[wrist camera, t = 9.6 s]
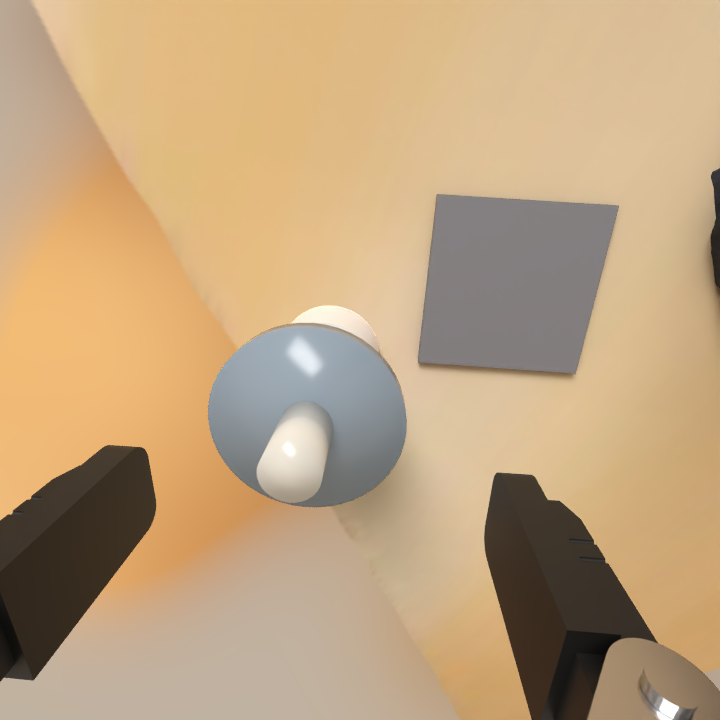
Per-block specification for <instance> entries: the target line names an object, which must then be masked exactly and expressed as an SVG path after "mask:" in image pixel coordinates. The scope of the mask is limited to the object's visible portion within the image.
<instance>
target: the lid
mask: <svg viewBox="0 0 720 720" xmlns="http://www.w3.org/2000/svg"><path fill="white" fill-rule="evenodd" d="M208 420H209V426H210V431H211V435H212V438H213V441H214V443H215V446H216V448H217V450H218V452H219V454H220V455H221V457H222V459H223V460H224V462H225V463H226V464H227V466H228V467H229V468H230V470H231V471H232V472H233V473H234V474H235V475H236V476H237V477H238V478H239V479H240V480H241V481H243V482H244V483H245V484H247V485H248V486H249V487H251V488H252V489H254V490H255V491H257V492H259V493H260V494H263V495H265V496H267V497H269V498H271V499H274V500H277V501H279V502H282V503H286V504H291V505H295V506H303V507H325V506H332V505H337V504H342V503H345V502H348V501H351V500H354V499H356V498H358V497H360V496H362V495H364V494H366V493H367V492H369V491H370V490H372V489H373V488H375V487H376V486H377V485H378V484H379V483H381V482H382V481H383V480H384V479H385V477H386V476H387V475H388V474H389V473H390V472H391V470H392V469H393V467H394V466H395V464H396V462H397V460H398V459H399V457H400V455H401V452H402V449H403V446H404V442H405V436H406V423H407V420H406V412H405V404H404V398H403V394H402V390H401V387H400V384H399V382H398V379H397V377H396V375H395V373H394V372H393V370H392V368H391V367H390V365H389V364H388V363H387V361H386V360H385V359H384V358H383V356H382V355H381V354H380V353H379V352H377V351H376V350H375V349H374V348H373V347H372V346H371V345H369V344H368V343H367V342H365V341H364V340H363V339H361V338H359V337H357V336H356V335H354V334H352V333H350V332H347V331H345V330H342V329H340V328H337V327H333V326H329V325H325V324H318V323H293V324H286V325H282V326H278V327H274V328H272V329H269V330H267V331H264V332H262V333H260V334H259V335H257V336H255V337H254V338H252V339H251V340H249V341H248V342H247V343H246V344H244V345H243V346H242V347H241V348H240V349H239V350H238V351H237V352H235V353H234V354H233V355H232V357H231V358H230V359H229V360H228V361H227V362H226V363H225V364H224V366H223V367H222V369H221V370H220V372H219V373H218V375H217V378H216V380H215V382H214V384H213V387H212V390H211V393H210V399H209V405H208Z"/></svg>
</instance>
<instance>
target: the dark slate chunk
mask: <svg viewBox="0 0 720 720" xmlns="http://www.w3.org/2000/svg"><path fill="white" fill-rule="evenodd" d="M711 179H712V183H713V187H714V199H715V212H716V220H715V225H714V228H713V230H712V234H711V247H712V249H711V254H712V258H713V266H714V276H715V282H716V285H717V286H718V287H719V288H720V168H719V169H718V170H716V171H714V172H712V175H711Z"/></svg>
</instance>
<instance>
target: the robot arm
mask: <svg viewBox="0 0 720 720" xmlns="http://www.w3.org/2000/svg"><path fill="white" fill-rule="evenodd" d="M155 511H156V498H155V493H154V487H153V481H152V476H151V471H150V465H149V459H148V454H147V452H146V451H145V449H143V448H141V447H129V446H114V445H108V446H105V447H103V448H102V449H100V450H99V451H98V452H97V453H96V454H94V455H93V456H92V457H91V458H89V459H88V460H87V461H86V462H85V463H84V464H82V465H81V466H78V467H76V468H74V469H72V470H70V471H68V472H66V473H64V474H62V475H60V476H58V477H56V478H54V479H53V480H51V481H50V482H49V483H47V484H46V485H45V486H44V487H42V488H41V489H40V490H39V491H37V492H36V493H35V494H33V495H32V497H31V499H30V500H26V501H25V502H23V503H22V504H21V505H20V506H18V507H17V508H16V509H15V510H13V513H12V515H7V516H6V517H4V518H3V519H2V520H1V521H0V681H1V680H2V679H3V678H4V677H5V678H15V679H24V680H34V679H35V678H36V676H37V675H38V674H39V672H40V671H41V670H42V669H43V667H44V666H45V665H46V663H47V662H48V661H49V660H50V658H51V657H52V656H53V654H54V653H55V651H56V650H57V649H58V648H59V646H60V645H61V644H62V642H63V641H64V640H65V638H66V637H67V636H68V635H69V633H70V632H71V631H72V629H73V628H74V627H75V625H76V624H77V623H78V622H79V620H80V619H81V618H82V616H83V615H84V614H85V612H86V611H87V609H88V608H89V607H90V606H91V605H92V603H93V602H94V601H95V599H96V598H97V597H98V595H99V594H100V593H101V591H102V590H103V589H104V587H105V586H106V585H107V584H108V582H109V581H110V580H111V578H112V577H113V576H114V574H115V573H116V572H117V570H118V569H119V568H120V566H121V565H122V564H123V563H124V561H125V560H126V559H127V557H128V556H129V555H130V553H131V552H132V551H133V549H134V548H135V547H136V545H137V544H138V543H139V542H140V540H141V539H142V538H143V536H144V535H145V534H146V532H147V531H148V530H149V528H150V526H151V524H152V522H153V519H154V516H155ZM484 542H485V552H486V557H487V561H488V565H489V568H490V572H491V576H492V579H493V583H494V586H495V590H496V593H497V597H498V601H499V604H500V608H501V611H502V615H503V618H504V622H505V625H506V629H507V633H508V636H509V640H510V643H511V647H512V650H513V654H514V658H515V661H516V665H517V668H518V672H519V675H520V679H521V683H522V686H523V690H524V693H525V697H526V700H527V704H528V708H529V711H530V715H531V718H532V720H720V691H719V690H718V688H717V687H716V686H715V685H714V683H713V682H711V680H709V678H708V677H707V676H706V675H705V674H704V673H703V672H702V671H700V670H699V669H698V668H697V667H696V666H695V665H693V664H692V663H691V662H689V661H688V660H687V659H685V658H684V657H683V656H681V655H679V654H678V653H676V652H675V651H673V650H671V649H669V648H667V647H665V646H663V645H661V644H658V642H657V641H656V639H655V638H654V636H653V635H652V633H651V631H650V630H649V628H648V627H647V625H646V623H645V622H644V620H643V619H642V617H641V615H640V614H639V612H638V610H637V609H636V607H635V606H634V604H633V602H632V601H631V599H630V598H629V596H628V594H627V593H626V591H625V590H624V588H623V586H622V585H621V583H620V582H619V580H618V578H617V577H616V575H615V574H614V572H613V570H612V569H611V567H610V566H609V564H607V563H606V562H605V558H604V556H603V554H602V553H601V551H600V550H599V548H598V546H597V545H594V540H593V538H592V537H591V535H590V533H589V532H588V530H587V529H586V527H585V525H584V524H583V522H582V521H581V519H580V518H579V517H577V516H576V515H575V514H574V513H573V512H572V511H571V510H569V509H568V508H567V507H566V506H565V505H564V504H563V503H561V502H560V501H554V500H547V498H546V496H545V494H544V493H543V491H542V489H541V487H540V485H539V484H538V482H537V480H536V478H535V477H534V476H533V475H525V474H510V473H496V474H495V476H494V480H493V485H492V490H491V496H490V502H489V507H488V513H487V519H486V524H485V533H484Z"/></svg>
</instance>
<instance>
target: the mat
mask: <svg viewBox="0 0 720 720" xmlns="http://www.w3.org/2000/svg"><path fill="white" fill-rule="evenodd" d="M618 208H619V206H616V205H600V204H584V203H568V202H552V201H536V200H520V199H504V198H488V197H472V196H456V195H440V194H438V195H437V199H436V207H435V216H434V225H433V233H432V242H431V251H430V259H429V268H428V277H427V285H426V294H425V303H424V311H423V320H422V329H421V337H420V346H419V355H418V362H421V363H435V364H449V365H462V366H476V367H490V368H504V369H518V370H532V371H546V372H560V373H574V374H576V370H577V366H578V362H579V358H580V355H581V351H582V347H583V343H584V339H585V335H586V331H587V328H588V324H589V320H590V316H591V312H592V308H593V304H594V301H595V297H596V293H597V289H598V285H599V281H600V277H601V273H602V270H603V266H604V262H605V258H606V254H607V250H608V246H609V243H610V239H611V235H612V231H613V227H614V223H615V219H616V216H617V212H618Z"/></svg>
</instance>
